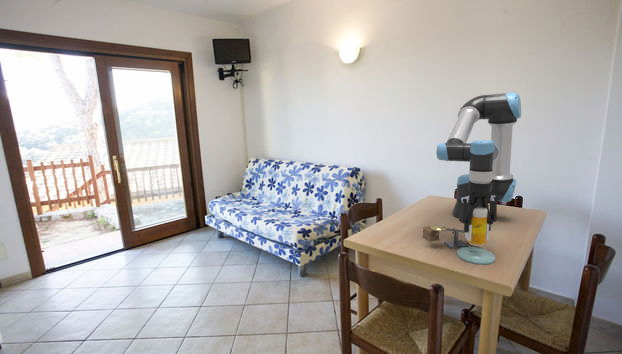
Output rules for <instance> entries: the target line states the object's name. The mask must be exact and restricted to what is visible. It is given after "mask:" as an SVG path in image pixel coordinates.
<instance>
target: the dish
mask: <svg viewBox="0 0 622 354" xmlns="http://www.w3.org/2000/svg"><path fill="white" fill-rule="evenodd" d="M456 256H457V257H458V258H459V259H461V260H463V262H467V263H469V264H474V265H491V264H493V263H495V261H496V255H495V254H494V253H493V252H491V251H490V250H487V249H484V248H481V247H477V246H475V247H474V246H469V247H463V248H459V249H457V253H456Z"/></svg>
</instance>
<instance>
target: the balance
mask: <svg viewBox="0 0 622 354" xmlns="http://www.w3.org/2000/svg"><path fill="white" fill-rule="evenodd" d="M430 226H431V229H432V230H434V231H439V232H445V231H447V232H452V234H453V240H443V245H445V246H446V247H447V248H448V249H449V250H456V249H457V250H458V249H460V248H463V247H470V246H469V244H468V243H466V242H465V241H463V240H462V239H459V234H460V233H462V234H466V232H465V231H464V229H457V228H455V227H453V228H449V227H446V226H444V225H441V224H433V225H430Z"/></svg>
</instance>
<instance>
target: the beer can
mask: <svg viewBox="0 0 622 354" xmlns="http://www.w3.org/2000/svg"><path fill="white" fill-rule="evenodd" d="M487 212H488V210H487V208H484V207H482V206H477V208H475V209H474V210H473V217H472V220H471V222H470V224H471V225H472V233H471V241H468V240H467V242H468V245H469V244H470V245H471V246H472V247H474V246H475V247H483V246H484V245H486V241H487V240H486V227H487Z"/></svg>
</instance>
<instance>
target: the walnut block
mask: <svg viewBox="0 0 622 354" xmlns="http://www.w3.org/2000/svg"><path fill="white" fill-rule="evenodd" d="M431 226H432V225H430V226H424V227H422V238H423V239H424V240H427V241H429V242H433V241H439V240H440V231H434V230H432V229H431Z"/></svg>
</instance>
